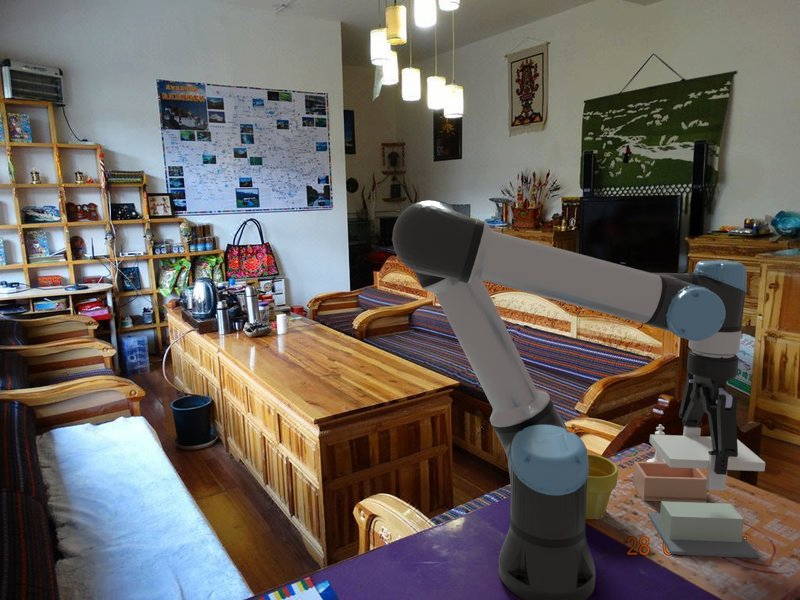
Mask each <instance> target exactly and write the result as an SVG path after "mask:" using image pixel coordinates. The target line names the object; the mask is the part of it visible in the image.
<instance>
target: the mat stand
mask: <svg viewBox="0 0 800 600" xmlns="http://www.w3.org/2000/svg"><path fill="white" fill-rule="evenodd" d="M659 511H660V512H647V516H649V517H650V519H651V520H650V519H649V520H650V522H651V521H652V522H651V523H653V524H654V525H653V524H652V525H653V527H654V526H655V527H654V528H656V529H657V530H656V529H655V530H656V532H657V531H658V532H657V534H658V533H659V534H660V535H659V534H658V535H659V537H660V536H661V537H660V539H661V540H662V541H664V542H663V543H664V545H665V544H666V545H665V546H667V547H666V548H667V550H668V551H670V552H669V553H670V555H673V554H677V555H680V556H697V557H701V556H703V557H723V558H725V557H726V558H742V559H743V558H744V559H745V558H746V559H759V553H758V552H757V551H756V550H755V549H754V548H753V547H752V545H751V544H750V543H749V542H748V541H747V540H746V539H745V537H744V536H743V534H744V533H743V531H744V523H745V522H744V521H745V518H743V516H742V515H741V514H740V512H738V510H736V508H735V507H734V506H733V505H732V504H731V503H723V502H722V503H721V502H717V503H716V502H715V503H714V502H706V503H696V502H667V501H660V510H659ZM649 517H648V518H649Z"/></svg>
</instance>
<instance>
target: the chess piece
mask: <svg viewBox="0 0 800 600" xmlns="http://www.w3.org/2000/svg"><path fill="white" fill-rule="evenodd" d="M655 429H656V431H654V435H666V434H665V432H664V431H663V430H665V427H664V426H663V425H662V424H658V426H656V427H655ZM646 462H665V461H664V460H663V458H662V457H661V456H660V455H659V453H658V452H657V451H656V450H655V453H654V457H653V458H648V459H647V460H646ZM665 463H666V462H665Z"/></svg>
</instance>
